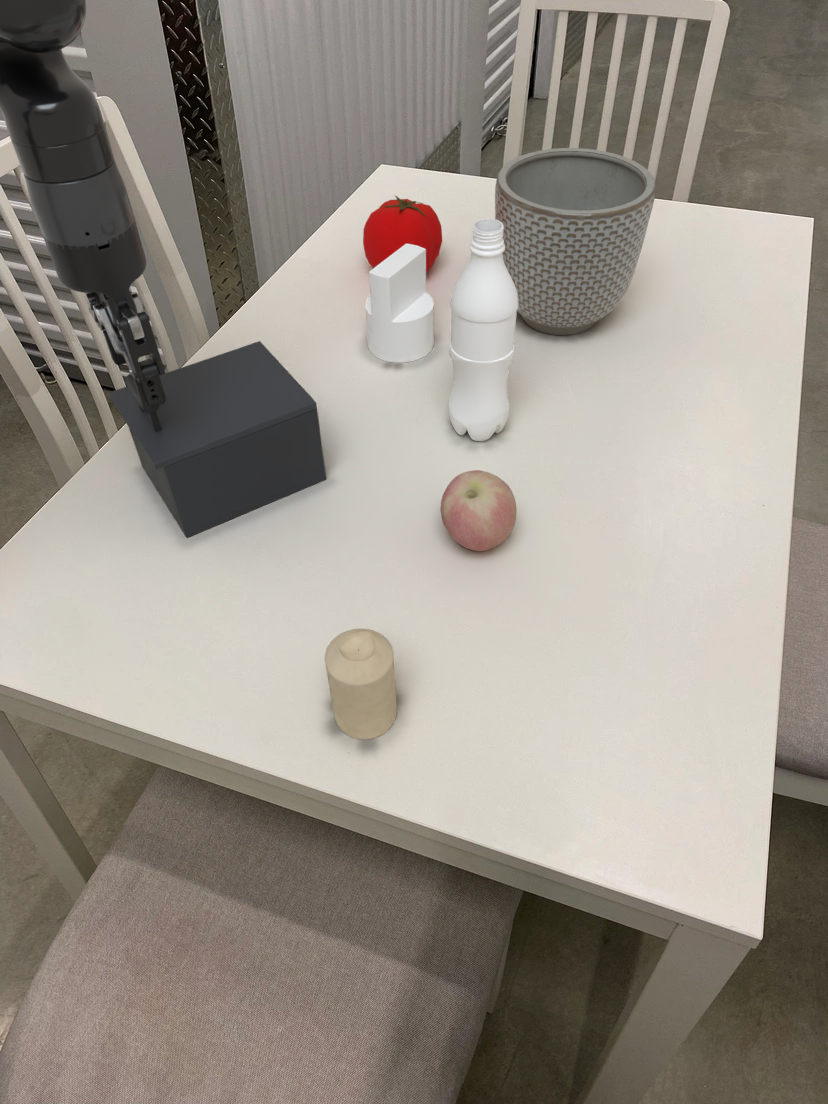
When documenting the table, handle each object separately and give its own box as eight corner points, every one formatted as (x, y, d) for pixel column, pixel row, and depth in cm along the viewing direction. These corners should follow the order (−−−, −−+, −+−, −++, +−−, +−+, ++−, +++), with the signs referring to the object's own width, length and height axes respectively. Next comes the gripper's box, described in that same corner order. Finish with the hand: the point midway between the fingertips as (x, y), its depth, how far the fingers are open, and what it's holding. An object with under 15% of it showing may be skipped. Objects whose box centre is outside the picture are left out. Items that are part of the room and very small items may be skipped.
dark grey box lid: (155, 470, 79) (142, 429, 75) (110, 398, 87) (96, 358, 83) (317, 408, 85) (312, 368, 82) (261, 346, 93) (253, 307, 90)
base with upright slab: (410, 370, 107) (408, 285, 98) (354, 350, 110) (347, 266, 101) (446, 337, 112) (447, 254, 103) (391, 319, 115) (387, 237, 106)
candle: (366, 675, 74) (359, 606, 67) (410, 711, 72) (407, 643, 64) (321, 713, 72) (308, 646, 64) (364, 752, 69) (356, 686, 62)
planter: (459, 312, 116) (462, 176, 102) (555, 266, 124) (571, 134, 110) (561, 373, 105) (580, 231, 91) (659, 319, 114) (690, 180, 100)
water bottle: (476, 454, 95) (486, 250, 77) (436, 425, 99) (436, 223, 80) (520, 429, 98) (540, 226, 80) (479, 401, 102) (490, 202, 83)
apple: (436, 515, 88) (436, 459, 82) (506, 509, 89) (511, 453, 83) (445, 570, 83) (445, 514, 77) (519, 564, 83) (526, 507, 77)
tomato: (382, 299, 119) (378, 224, 111) (354, 264, 126) (348, 191, 118) (456, 281, 122) (457, 207, 114) (424, 248, 129) (424, 176, 121)
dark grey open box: (186, 538, 87) (163, 467, 79) (142, 466, 95) (117, 396, 87) (326, 479, 92) (317, 409, 85) (273, 416, 100) (261, 347, 93)
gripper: (19, 201, 71) (80, 360, 83) (66, 268, 62) (126, 434, 74) (104, 179, 73) (151, 336, 85) (160, 242, 65) (203, 406, 77)
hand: (139, 382), depth 80 cm, fingers open, 8 cm apart
